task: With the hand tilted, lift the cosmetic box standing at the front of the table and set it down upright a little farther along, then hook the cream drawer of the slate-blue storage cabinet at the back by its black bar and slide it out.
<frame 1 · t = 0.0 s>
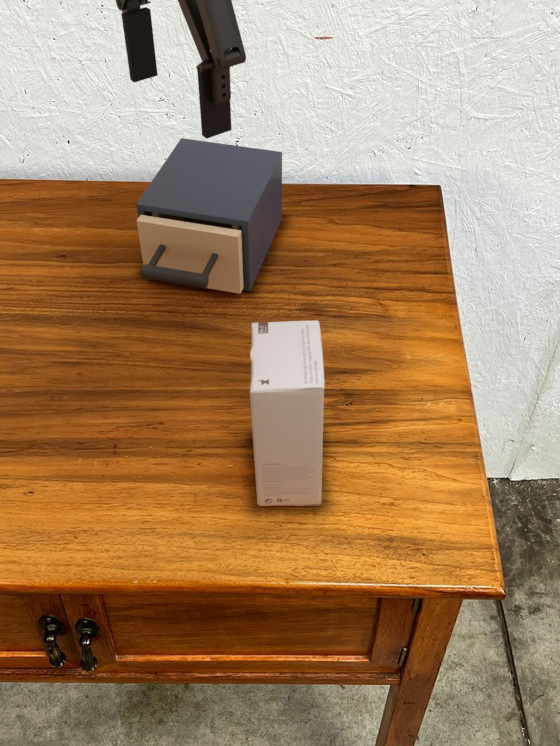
hand: (178, 104, 75), 21 cm above the table, tool pointing down, fingers open, 13 cm apart
cosmetic box: (286, 470, 71), on the table
drawer: (201, 236, 88), point 5 cm above the table, slide at 0.5 cm
cabinet: (216, 245, 94), on the table
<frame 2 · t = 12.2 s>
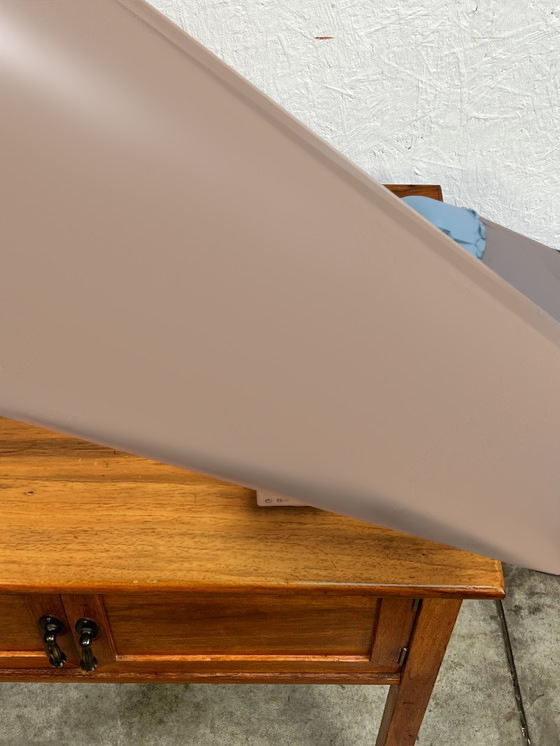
hand: (257, 424, 69), 4 cm above the table, tool tilted 45°, fingers closed on cosmetic box, 10 cm apart
cosmetic box: (286, 470, 71), on the table, touching gripper
everything else where it was.
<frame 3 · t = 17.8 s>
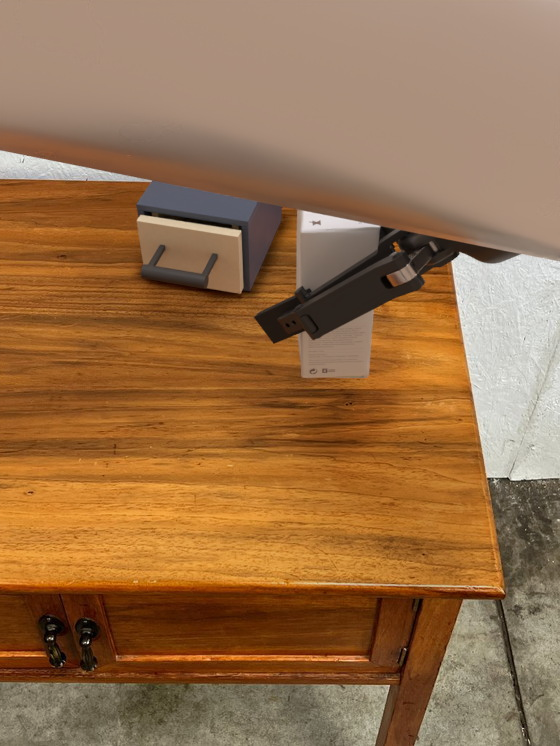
hand: (300, 293, 65), 15 cm above the table, tool tilted 45°, fingers closed on cosmetic box, 10 cm apart
cosmetic box: (329, 347, 67), point 10 cm above the table, touching gripper
everything else where it was.
when the fingers open (4 cm above the table, at t = 23.5 s): cosmetic box stays where it is, on the table.
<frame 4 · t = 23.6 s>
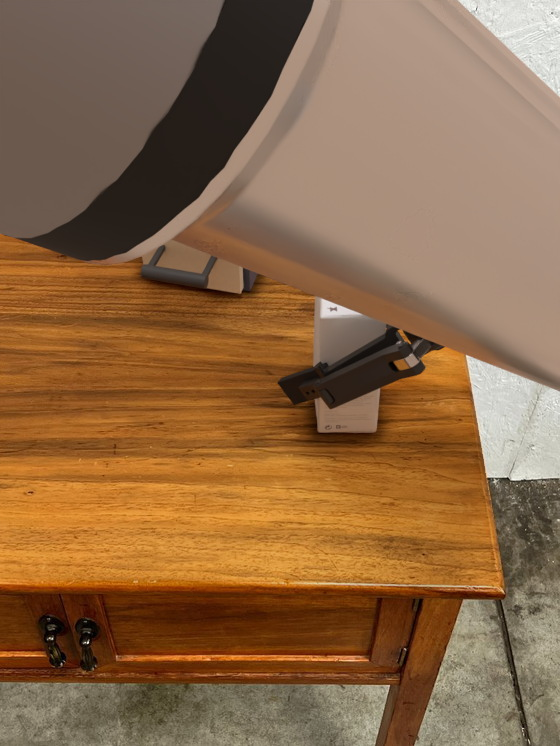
hand: (317, 358, 75), 4 cm above the table, tool tilted 45°, fingers open, 10 cm apart
cosmetic box: (342, 403, 77), on the table
everything else where it was.
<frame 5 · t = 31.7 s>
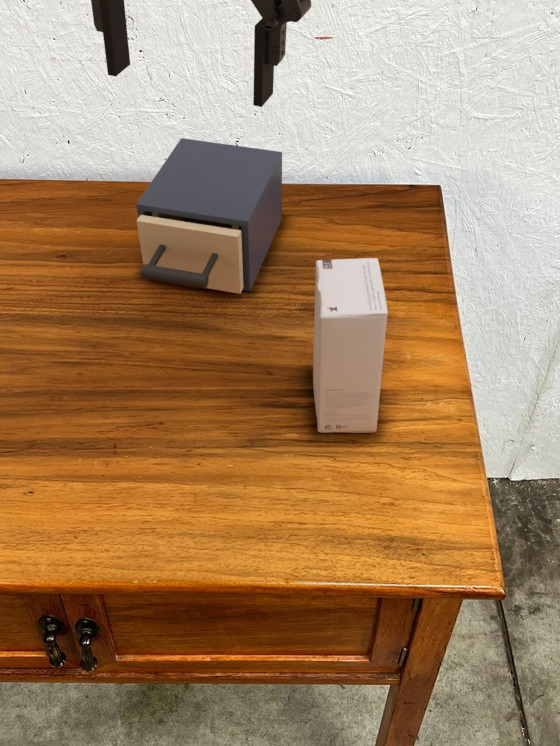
hand: (189, 84, 67), 26 cm above the table, tool pointing down, fingers open, 13 cm apart
nothing on the table moved.
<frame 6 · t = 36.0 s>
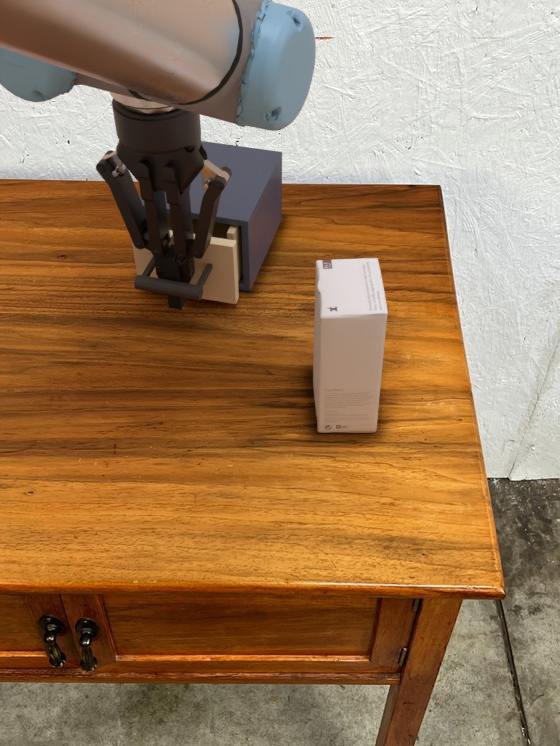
hand: (179, 300, 84), 2 cm above the table, tool pointing down, fingers closed
drawer: (196, 246, 86), point 5 cm above the table, slide at 2.4 cm
everything else where it was.
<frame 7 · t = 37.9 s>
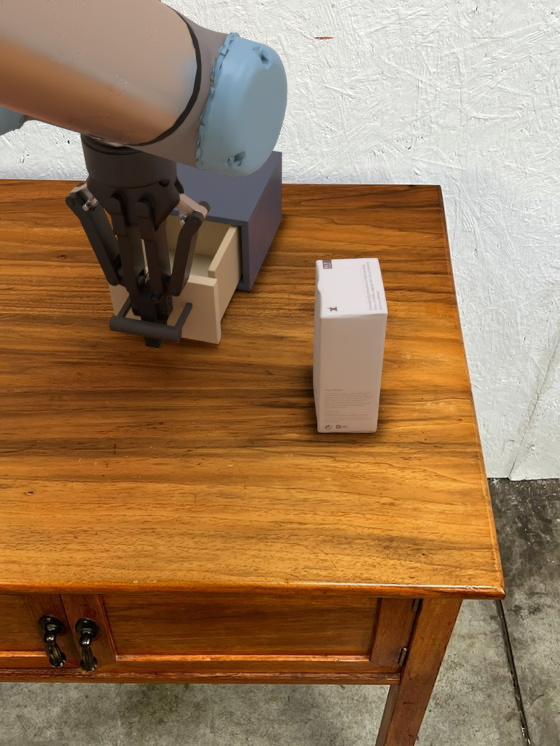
hand: (156, 338, 79), 2 cm above the table, tool pointing down, fingers closed
drawer: (176, 282, 82), point 5 cm above the table, slide at 8.9 cm
everything else where it was.
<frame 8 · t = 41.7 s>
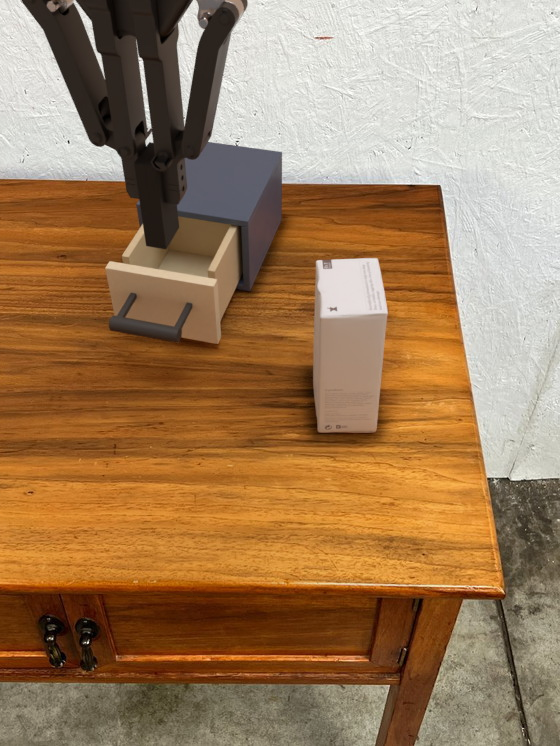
hand: (162, 236, 55), 24 cm above the table, tool pointing down, fingers closed
nothing on the table moved.
at the end: drawer slide at 8.9 cm; cosmetic box moved 10.0 cm from its start; cosmetic box tilted 0° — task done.
